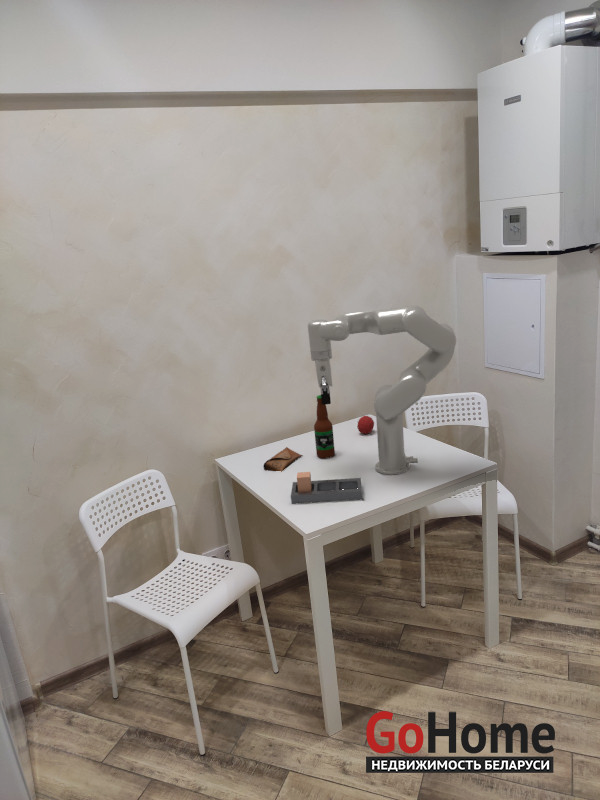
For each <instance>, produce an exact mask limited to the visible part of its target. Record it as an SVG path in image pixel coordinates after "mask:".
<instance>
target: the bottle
mask: <svg viewBox="0 0 600 800" xmlns="http://www.w3.org/2000/svg"><path fill="white" fill-rule="evenodd" d="M328 413H329V412H328V409H327V404H326V405H322V400H321V394H319V395H317V396H316V420H315V423H314V425H313V429H314V431H313V432H314V439H315V441H314V442H315V452H316V456H317V457H318V458H319V459H324V460H325V459H330V457H331V458H332V457H334V456H335V454H336V451H335V442H334V441H335V440H334V438H335V437H334V429H333V428H334V427H333V426H334V425H333V423H332V422H331V420H330V419H329V414H328Z"/></svg>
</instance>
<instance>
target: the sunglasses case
mask: <svg viewBox="0 0 600 800" xmlns="http://www.w3.org/2000/svg"><path fill="white" fill-rule="evenodd" d="M301 456H302V457H303V456H304V455H303V454H300V453H298V452H296V451H294V450H293V449H290V448H288V446H286V447H285V448H284V449H282V450H280V451H279V452H277V453H276V454H275V455H273V456H272V457H270V459H267V460H266V461H265V462H264V464H263V470H264V471H267V470H268V471H269V472H276V471H281V472H280V473H283V472H284V471H285V470H286V469H287V468H288V467H289V466H291V465H292V464H293V463H295V462H296V461H297V460H298V458H299V459H300V458H302V457H301ZM295 460H296V461H295ZM285 468H286V469H285ZM284 469H285V470H284ZM283 470H284V471H283ZM282 471H283V472H282Z"/></svg>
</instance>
